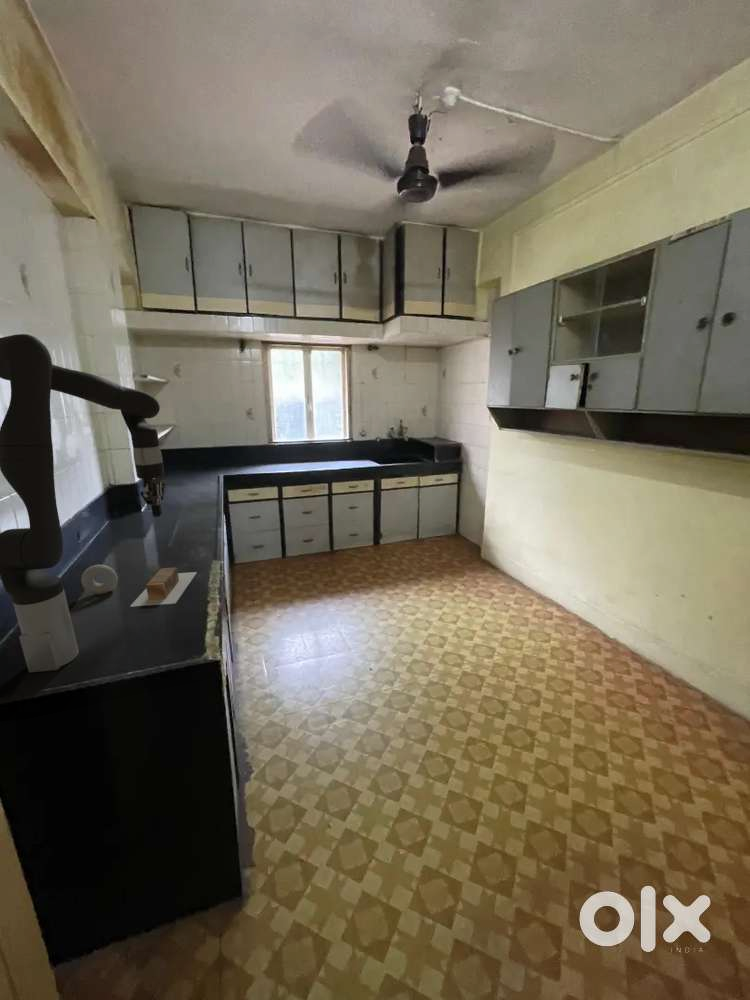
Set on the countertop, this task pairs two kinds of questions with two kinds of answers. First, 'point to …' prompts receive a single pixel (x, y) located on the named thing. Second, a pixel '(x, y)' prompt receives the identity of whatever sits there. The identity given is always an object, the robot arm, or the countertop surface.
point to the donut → (95, 587)
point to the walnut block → (162, 583)
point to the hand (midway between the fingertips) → (157, 515)
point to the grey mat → (172, 597)
